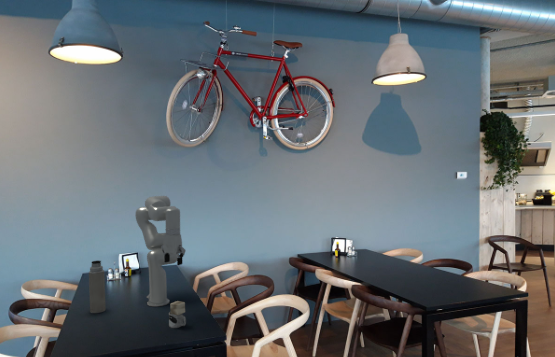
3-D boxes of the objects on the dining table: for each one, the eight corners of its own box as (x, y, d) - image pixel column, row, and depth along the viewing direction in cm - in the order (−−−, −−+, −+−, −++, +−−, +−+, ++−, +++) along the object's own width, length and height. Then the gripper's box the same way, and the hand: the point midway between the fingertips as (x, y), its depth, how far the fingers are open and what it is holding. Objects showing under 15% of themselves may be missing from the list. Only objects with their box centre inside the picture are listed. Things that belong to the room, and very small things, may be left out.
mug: (166, 326, 213) (165, 313, 213) (176, 322, 218) (175, 309, 218) (180, 330, 207) (180, 316, 207) (190, 325, 213) (190, 312, 213)
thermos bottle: (87, 311, 239) (86, 261, 239) (102, 307, 245) (100, 258, 244) (93, 314, 234) (91, 263, 233) (107, 310, 239) (106, 260, 238)
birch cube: (170, 313, 212) (170, 303, 212) (177, 310, 216) (177, 300, 216) (177, 315, 209) (177, 305, 209) (185, 312, 214) (184, 302, 213)
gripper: (156, 230, 228) (156, 262, 229) (179, 234, 218) (179, 267, 219) (167, 228, 234) (167, 259, 235) (189, 232, 225) (190, 264, 226)
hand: (173, 263), depth 227 cm, fingers open, 9 cm apart
